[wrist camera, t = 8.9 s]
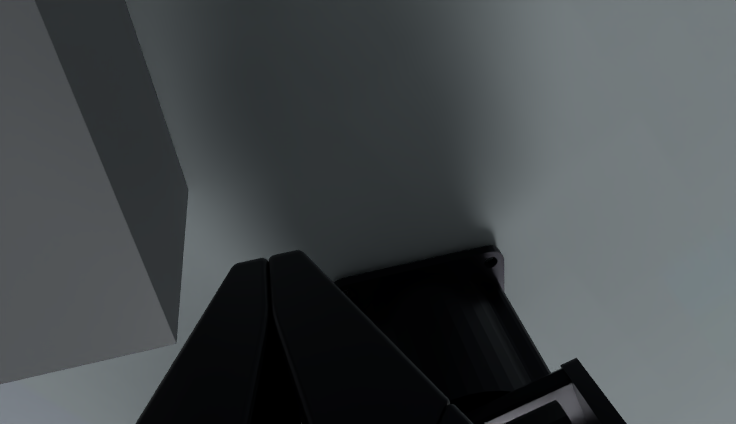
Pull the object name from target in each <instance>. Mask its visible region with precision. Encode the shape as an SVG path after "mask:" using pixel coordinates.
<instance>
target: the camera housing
mask: <svg viewBox="0 0 736 424" xmlns="http://www.w3.org/2000/svg"><path fill="white" fill-rule="evenodd" d="M187 200H188V188H187V185H186V182H185V179H184V176H183V173H182V170H181V167H180V164H179V161H178V158H177V155H176V152H175V149H174V146H173V143H172V140H171V137H170V134H169V131H168V128H167V125H166V122H165V119H164V116H163V113H162V110H161V107H160V104H159V101H158V98H157V95H156V92H155V90H154V87H153V84H152V81H151V78H150V75H149V72H148V69H147V66H146V63H145V60H144V57H143V54H142V51H141V48H140V45H139V42H138V39H137V36H136V33H135V30H134V27H133V24H132V21H131V18H130V15H129V12H128V9H127V6H126V3H125V0H0V384H3V383H7V382H12V381H16V380H20V379H25V378H29V377H33V376H38V375H42V374H46V373H51V372H55V371H59V370H64V369H68V368H73V367H77V366H81V365H86V364H90V363H94V362H99V361H103V360H107V359H112V358H116V357H120V356H125V355H129V354H133V353H138V352H142V351H146V350H151V349H155V348H159V347H164V346H168V345H172V344H176V342H177V329H178V316H179V303H180V290H181V278H182V265H183V252H184V239H185V226H186V213H187Z"/></svg>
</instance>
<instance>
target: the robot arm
mask: <svg viewBox="0 0 736 424" xmlns="http://www.w3.org/2000/svg"><path fill="white" fill-rule="evenodd" d="M490 257H493V258H492V259H491V260H490V261H488V262H485V261H486V260H487V259H488V258H490ZM344 290H349V293H347V294H344V293H343V292H342V291H344ZM301 423H302V424H626V422H625V421H624V420H623V418H622V417H621V416H620V414H619V413H618V412H617V411H616V409H615V408H614V407H613V405H612V404H611V403H610V401H609V400H608V399H607V397H606V396H605V395H604V393H603V392H602V391H601V389H600V388H599V387H598V385H597V384H596V383H595V381H594V380H593V379H592V378H591V376H590V375H589V374H588V372H587V371H586V370H585V368H584V367H583V366H582V364H581V363H580V362H579V360H578V359H577V358H575V359H573V360H571V361H569V362H566V363H564V364H562V365H561V369H559V370H557V371H554V372H552V373H551V372H550V371H549V369H548V367H547V365H546V364H545V362H544V360H543V358H542V357H541V355H540V353H539V352H538V350H537V348H536V346H535V345H534V343H533V341H532V339H531V338H530V336H529V334H528V333H527V331H526V329H525V327H524V326H523V324H522V322H521V320H520V319H519V317H518V315H517V314H516V312H515V310H514V308H513V307H512V305H511V303H510V302H509V300H508V298H507V296H506V295H505V293H504V258H503V255H502V254H501V252H500V250H499V249H498V248H497V247H496V246H492V245H489V246H483V247H479V248H474V249H470V250H466V251H461V252H457V253H452V254H448V255H443V256H439V257H435V258H430V259H426V260H421V261H417V262H412V263H408V264H404V265H399V266H395V267H390V268H386V269H382V270H377V271H373V272H368V273H364V274H359V275H355V276H351V277H346V278H342V279H339V280H337V281H336V282H335V283H333V282H332V281H331V280H330V279H329V278H328V277H327V276H326V275H325V274H324V273H323V272H322V271H321V269H320V268H319V267H318V266H317V265H316V264H315V263H314V262H313V261H312V260H311V259H310V258H309V257H308V256H307V255H306V254H305V253H304V252H302V251H300V250H295V251H291V252H286V253H282V254H277V255H273V256H271V257H270V259H269V262H268V260H267V259H265V258H259V259H254V260H250V261H245V262H241V263H237V264H235V265H234V266H233V267H232V268H231V270H230V271H229V273H228V275H227V276H226V278H225V279H224V281H223V283H222V284H221V286H220V288H219V289H218V291H217V292H216V294H215V296H214V297H213V299H212V301H211V302H210V304H209V305H208V307H207V309H206V310H205V312H204V314H203V315H202V317H201V318H200V320H199V322H198V323H197V325H196V327H195V328H194V330H193V331H192V333H191V335H190V336H189V338H188V340H187V341H186V343H185V344H184V346H183V348H182V349H181V351H180V353H179V354H178V356H177V357H176V359H175V361H174V362H173V364H172V366H171V367H170V369H169V370H168V372H167V374H166V375H165V377H164V379H163V380H162V382H161V383H160V385H159V387H158V388H157V390H156V392H155V393H154V395H153V396H152V398H151V400H150V401H149V403H148V405H147V406H146V408H145V409H144V411H143V413H142V414H141V416H140V418H139V419H138V421H137V422H136V424H301Z"/></svg>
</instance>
